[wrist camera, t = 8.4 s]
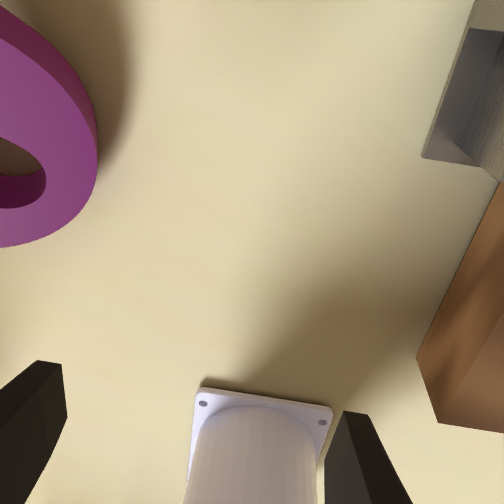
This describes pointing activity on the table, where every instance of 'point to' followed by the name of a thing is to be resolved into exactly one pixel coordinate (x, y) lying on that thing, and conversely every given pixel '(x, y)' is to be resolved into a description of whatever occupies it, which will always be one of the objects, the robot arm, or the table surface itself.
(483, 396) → the rail
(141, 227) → the table surface
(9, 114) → the mounting bracket
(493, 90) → the bracket
